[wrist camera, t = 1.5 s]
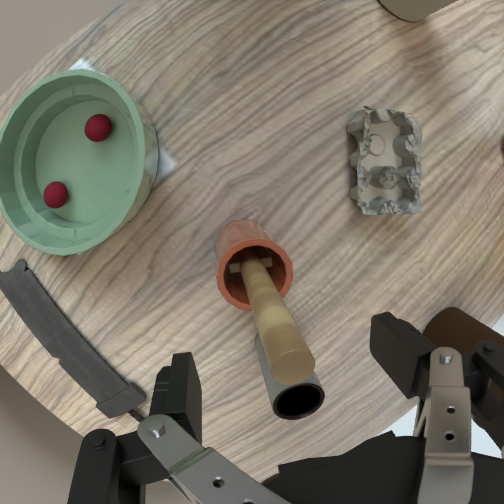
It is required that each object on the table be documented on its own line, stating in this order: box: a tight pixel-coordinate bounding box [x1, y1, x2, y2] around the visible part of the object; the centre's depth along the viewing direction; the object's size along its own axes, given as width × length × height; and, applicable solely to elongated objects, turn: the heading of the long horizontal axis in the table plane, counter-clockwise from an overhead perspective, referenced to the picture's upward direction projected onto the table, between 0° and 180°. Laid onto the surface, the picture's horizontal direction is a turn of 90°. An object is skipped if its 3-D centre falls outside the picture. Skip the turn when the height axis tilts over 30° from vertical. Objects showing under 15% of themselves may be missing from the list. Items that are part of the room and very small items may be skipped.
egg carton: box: [347, 106, 422, 215], centre depth 26 cm, size 11×8×4 cm
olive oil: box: [423, 307, 504, 429], centre depth 24 cm, size 11×11×25 cm
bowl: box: [0, 69, 159, 256], centre depth 21 cm, size 15×15×6 cm
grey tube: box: [255, 333, 325, 420], centre depth 27 cm, size 4×4×10 cm
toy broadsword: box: [0, 259, 147, 422], centre depth 30 cm, size 7×35×2 cm, turn 34°
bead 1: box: [43, 181, 68, 209], centre depth 23 cm, size 3×3×3 cm
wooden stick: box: [228, 245, 315, 385], centre depth 20 cm, size 2×3×18 cm, turn 97°
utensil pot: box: [215, 219, 293, 311], centre depth 25 cm, size 5×5×8 cm
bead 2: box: [84, 114, 112, 142], centre depth 22 cm, size 3×3×3 cm
